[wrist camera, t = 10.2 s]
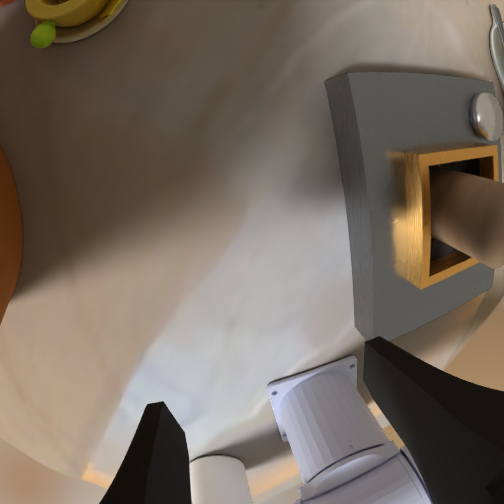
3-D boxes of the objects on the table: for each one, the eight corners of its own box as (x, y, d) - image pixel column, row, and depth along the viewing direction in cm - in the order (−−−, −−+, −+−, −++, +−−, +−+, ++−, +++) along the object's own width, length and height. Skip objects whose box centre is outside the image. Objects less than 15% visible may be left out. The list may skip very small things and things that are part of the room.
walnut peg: (446, 221, 21) (519, 255, 14) (401, 235, 21) (478, 279, 13) (444, 161, 19) (525, 180, 12) (397, 169, 19) (485, 192, 11)
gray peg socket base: (471, 274, 24) (502, 294, 20) (354, 326, 23) (382, 360, 19) (466, 83, 17) (506, 82, 13) (324, 81, 16) (361, 67, 12)
